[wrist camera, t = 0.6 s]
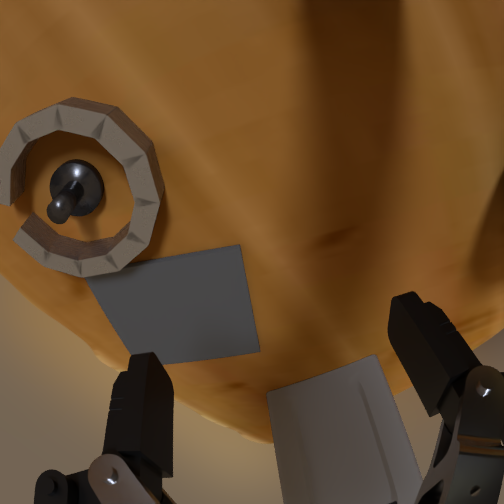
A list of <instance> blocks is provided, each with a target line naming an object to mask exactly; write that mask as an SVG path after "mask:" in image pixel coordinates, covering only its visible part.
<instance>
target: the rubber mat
mask: <svg viewBox="0 0 504 504" xmlns="http://www.w3.org/2000/svg"><path fill="white" fill-rule="evenodd" d="M84 278H85V279H86V281H87V283H88V285H89V287H90V288H91V290H92V292H93V294H94V296H95V297H96V299H97V301H98V303H99V304H100V306H101V308H102V309H103V311H104V313H105V314H106V316H107V318H108V319H109V321H110V323H111V324H112V326H113V327H114V329H115V331H116V332H117V334H118V335H119V337H120V339H121V340H122V342H123V343H124V345H125V346H126V348H127V349H128V351H129V352H130V354H131V355H134V354H140V353H147V352H154V353H155V354H156V356H157V357H158V359H159V361H160V362H161V364H162V365H164V364H174V363H183V362H192V361H200V360H208V359H216V358H223V357H230V356H237V355H243V354H250V353H256V352H260V347H259V342H258V337H257V332H256V326H255V321H254V316H253V311H252V306H251V301H250V295H249V290H248V285H247V280H246V275H245V269H244V264H243V259H242V254H241V248H240V245H234V246H228V247H222V248H217V249H211V250H205V251H199V252H194V253H188V254H182V255H176V256H171V257H165V258H159V259H154V260H148V261H142V262H137V263H131V264H127V265H126V266H124V267H123V268H122V269H121V270H120V271H117V272H111V273H105V274H100V275H94V276H88V277H84Z"/></svg>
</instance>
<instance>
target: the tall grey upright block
mask: <svg viewBox="0 0 504 504" xmlns="http://www.w3.org/2000/svg"><path fill="white" fill-rule="evenodd" d="M266 396H267V403H268V409H269V415H270V422H271V428H272V434H273V440H274V447H275V453H276V459H277V465H278V471H279V478H280V483H281V489H282V496H283V502H284V504H389V503H391V502H394V501H397V504H414V503H415V500H416V497H417V495H418V492H419V489H420V487H421V484H422V482H423V479H422V476H421V473H420V470H419V467H418V464H417V461H416V458H415V455H414V452H413V449H412V446H411V443H410V440H409V438H408V435H407V432H406V429H405V427H404V424H403V421H402V419H401V416H400V413H399V411H398V408H397V406H396V403H395V400H394V398H393V395H392V392H391V390H390V387H389V385H388V382H387V380H386V377H385V375H384V373H383V370H382V368H381V365H380V363H379V360H378V358H377V356H376V355H371V356H368V357H366V358H363V359H361V360H358V361H356V362H353V363H351V364H348V365H346V366H343V367H340V368H338V369H335V370H332V371H330V372H327V373H324V374H321V375H318V376H316V377H313V378H310V379H307V380H304V381H301V382H298V383H295V384H292V385H289V386H286V387H282V388H279V389H276V390H273V391H269V392H267V393H266Z"/></svg>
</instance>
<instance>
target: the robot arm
mask: <svg viewBox="0 0 504 504" xmlns="http://www.w3.org/2000/svg"><path fill="white" fill-rule="evenodd" d="M388 337H389V340H390V343H391V345H392V347H393V349H394V351H395V352H396V354H397V356H398V358H399V360H400V361H401V363H402V365H403V367H404V369H405V371H406V373H407V374H408V376H409V378H410V380H411V382H412V384H413V386H414V388H415V389H416V391H417V393H418V395H419V397H420V399H421V401H422V403H423V405H424V407H425V409H426V410H427V413H428V415H429V417H432V416H434V415H436V414H438V413H440V414H441V416H442V418H443V420H442V422H441V426H440V431H439V435H438V439H437V443H436V446H435V450H434V454H433V458H432V461H431V464H430V468H429V470H428V473H427V475H426V477H425V479H424V480H423V482H422V484H421V487H420V489H419V492H418V495H417V497H416V500H415V503H414V504H497V502H498V498H499V494H500V489H501V485H502V480H503V475H504V446H502V445H501V440H502V442H503V444H504V372H499V371H498V370H497V369H495V368H493V367H491V366H485V365H482V364H481V363H480V361H479V360H478V359H477V357H476V356H475V354H474V353H473V351H472V350H471V349H470V347H469V346H468V344H467V343H466V342H465V340H464V339H463V337H462V336H461V335H460V333H459V332H458V331H456V328H455V326H454V325H453V324H452V322H451V323H450V320H449V318H448V317H447V316H446V314H445V313H444V312H443V311H442V309H440V308H439V307H437V306H436V305H434V304H433V303H431V302H426V303H423V301H422V300H421V299H420V297H419V296H418V295H417V294H416V293H415V292H414V291H411V292H408V293H405V294H402V295H398V296H395V297H393V298H392V300H391V307H390V315H389V322H388ZM111 399H112V400H111V401H110V407H109V409H110V411H109V413H108V419H107V426H106V433H105V440H104V447H103V452H102V455H101V456H99V457H98V458H96V459H95V460H94V461H93V462H92V463H91V465H90V467H89V469H87V470H84V471H81V472H77V473H74V474H70V475H66V476H65V475H64V474H62V473H61V472H59V471H57V470H47V471H45V472H43V473H42V474H41V475H40V476H39V478H38V479H37V482H36V487H35V496H34V504H176V503H175V502H174V501H173V499H172V498H171V497H170V496H169V495H168V494H167V492H166V491H165V490H164V489H163V488H162V478H170V477H173V407H174V390H173V384H172V381H171V379H170V377H169V375H168V374H167V372H166V370H165V369H164V367H163V366H162V364H161V362H160V361H159V359H158V357H157V356H156V354H155V353H154V352H147V353H140V354H134V355H131V357H130V360H129V365H128V371H123V372H120V374H119V376H118V378H117V379H116V381H115V383H114V384H113V389H112V395H111ZM389 504H397V501H394V502H391V503H389Z"/></svg>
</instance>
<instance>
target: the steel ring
mask: <svg viewBox="0 0 504 504" xmlns="http://www.w3.org/2000/svg"><path fill="white" fill-rule="evenodd" d="M56 130H62V131H66V132H71V133H75V134H79V135H83V136H88V137H92V138H95V139H96V140H97V141H98V142H99V143H100V144H101V145H102V146H103V147H104V148H105V149H106V150H107V151H108V152H109V153H110V154H111V155H112V156H113V157H115V158H116V159H117V160H118V161H119V162H120V163H121V164H122V165H123V166H124V170H125V173H126V176H127V179H128V182H129V185H130V189H131V192H132V195H133V198H134V201H135V205H134V209H133V213H132V218H131V221H130V222H129V223H128V224H126V225H125V226H124V227H123V228H122V229H121V230H120V231H119V232H118V233H117V234H116V235H115V236H114V237H109V238H105V239H100V240H95V241H91V242H83V241H80V240H76V239H73V238H69V237H66V236H62V235H59V234H58V233H56V232H55V231H54V230H53V229H52V228H51V227H50V226H48V225H47V224H46V223H45V222H44V221H43V220H42V219H40V218H39V217H38V216H37V215H36V214H35V213H34V212H33V213H32V214H31V215H30V216H29V217H28V219H27V220H26V221H25V222H24V224H23V225H22V226H21V228H20V229H19V231H18V232H17V234H16V236H15V237H14V239H13V241H14V242H15V243H17V244H18V245H19V246H20V247H21V248H22V249H23V250H25V251H26V252H27V253H28V254H29V255H30V256H32V257H33V258H34V259H35V260H36V261H38V262H39V263H40V264H41V265H43V266H44V267H47V268H51V269H54V270H57V271H60V272H64V273H67V274H71V275H74V276H77V277H82V278H83V277H88V276H94V275H100V274H105V273H111V272H117V271H120V270H121V269H122V268H123V267H124V266H126V265H127V264H128V263H129V262H130V261H131V260H132V259H134V258H135V257H136V256H137V255H138V254H139V253H141V252H142V251H143V250H144V249H145V248H146V247H147V246H148V245H149V242H150V238H151V235H152V231H153V227H154V224H155V220H156V216H157V213H158V209H159V206H160V202H161V199H162V195H163V192H164V189H165V186H164V182H163V179H162V175H161V171H160V168H159V164H158V160H157V156H156V152H155V149H154V145H153V142H152V141H151V140H150V139H149V138H148V137H147V136H146V135H145V134H144V133H143V132H142V131H141V130H140V129H139V128H138V127H137V126H136V125H135V124H134V123H133V122H132V121H131V120H130V119H129V118H128V117H127V116H126V115H125V114H124V113H123V112H122V111H121V110H120V109H119V108H117V107H116V106H112V105H108V104H103V103H99V102H94V101H90V100H85V99H80V98H76V97H71V98H68V99H66V100H63V101H61V102H58V103H56V104H54V105H51V106H49V107H46V108H44V109H42V110H40V111H37V112H35V113H33V114H31V115H29V116H27V117H25V118H24V119H22V120H20V121H18V122H16V123H15V125H14V127H13V128H12V130H11V131H10V133H9V135H8V136H7V138H6V140H5V142H4V143H3V145H2V147H1V148H0V204H4V205H7V206H11V205H12V204H13V203H14V202H15V201H16V200H17V198H18V197H19V196H20V195H21V194H22V193H23V192H24V186H25V168H26V157H27V155H28V154H29V152H30V151H31V149H32V148H33V146H34V145H35V143H36V142H37V140H38V139H39V137H42V136H44V135H46V134H49V133H51V132H54V131H56Z"/></svg>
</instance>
